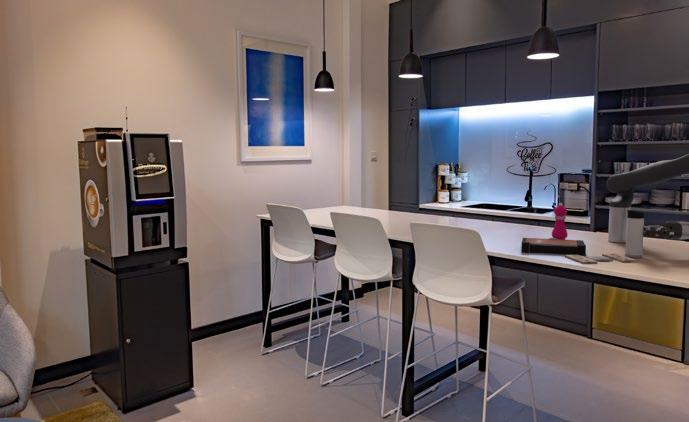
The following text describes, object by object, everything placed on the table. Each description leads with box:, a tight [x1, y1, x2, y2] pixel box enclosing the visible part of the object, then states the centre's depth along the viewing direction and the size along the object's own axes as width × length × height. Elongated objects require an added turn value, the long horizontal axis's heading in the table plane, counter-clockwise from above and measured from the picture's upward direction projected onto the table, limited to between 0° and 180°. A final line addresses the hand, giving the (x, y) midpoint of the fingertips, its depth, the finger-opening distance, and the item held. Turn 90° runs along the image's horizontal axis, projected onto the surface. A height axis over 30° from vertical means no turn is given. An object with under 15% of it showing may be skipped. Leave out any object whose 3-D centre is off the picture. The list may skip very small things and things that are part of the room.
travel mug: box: [624, 209, 645, 259], centre depth 219 cm, size 6×7×20 cm
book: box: [520, 237, 587, 257], centre depth 235 cm, size 26×18×5 cm
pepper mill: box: [551, 202, 568, 240], centre depth 252 cm, size 7×7×20 cm
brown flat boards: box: [564, 253, 638, 265], centre depth 215 cm, size 23×14×1 cm, turn 96°
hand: (639, 231), depth 219 cm, fingers open, 8 cm apart
